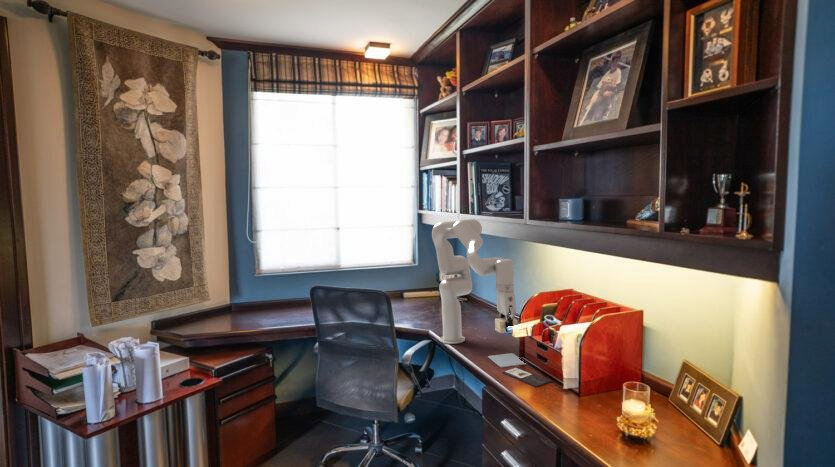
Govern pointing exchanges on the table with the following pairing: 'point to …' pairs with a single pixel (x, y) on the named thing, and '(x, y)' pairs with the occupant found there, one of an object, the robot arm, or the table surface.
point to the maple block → (502, 324)
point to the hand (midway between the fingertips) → (506, 328)
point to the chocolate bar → (527, 377)
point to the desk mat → (506, 360)
